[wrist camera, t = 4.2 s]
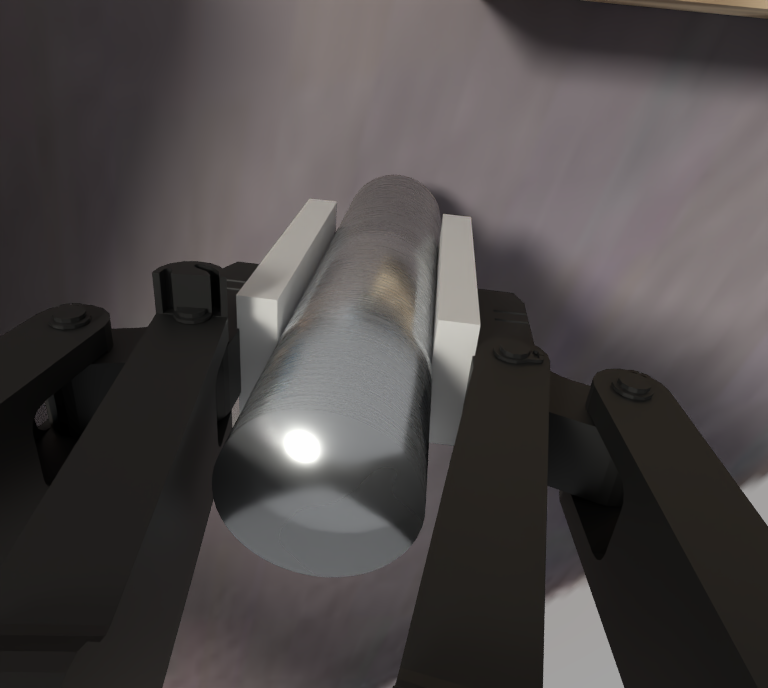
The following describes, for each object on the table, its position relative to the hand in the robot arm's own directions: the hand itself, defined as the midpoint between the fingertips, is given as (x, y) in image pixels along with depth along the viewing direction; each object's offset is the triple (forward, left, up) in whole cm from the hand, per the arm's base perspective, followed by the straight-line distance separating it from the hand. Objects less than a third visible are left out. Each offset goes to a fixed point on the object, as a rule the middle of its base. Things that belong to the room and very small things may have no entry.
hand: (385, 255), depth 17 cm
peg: (0, 0, -3) cm, 3 cm away
